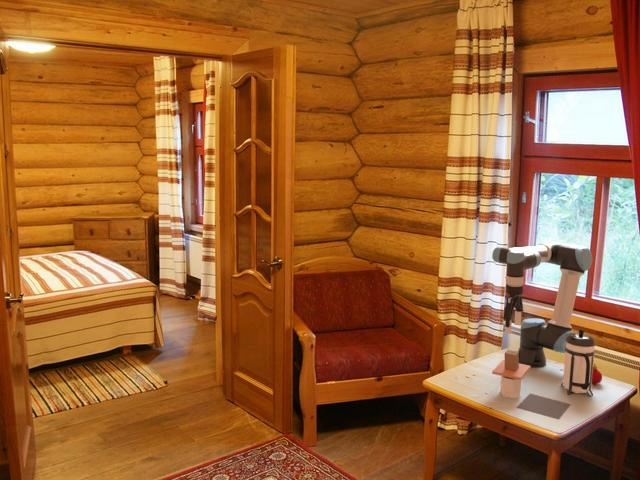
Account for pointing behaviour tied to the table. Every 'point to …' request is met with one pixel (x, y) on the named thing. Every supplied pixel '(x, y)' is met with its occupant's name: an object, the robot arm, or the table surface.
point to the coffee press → (579, 363)
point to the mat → (544, 406)
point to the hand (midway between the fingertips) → (512, 329)
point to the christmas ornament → (596, 375)
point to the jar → (510, 387)
